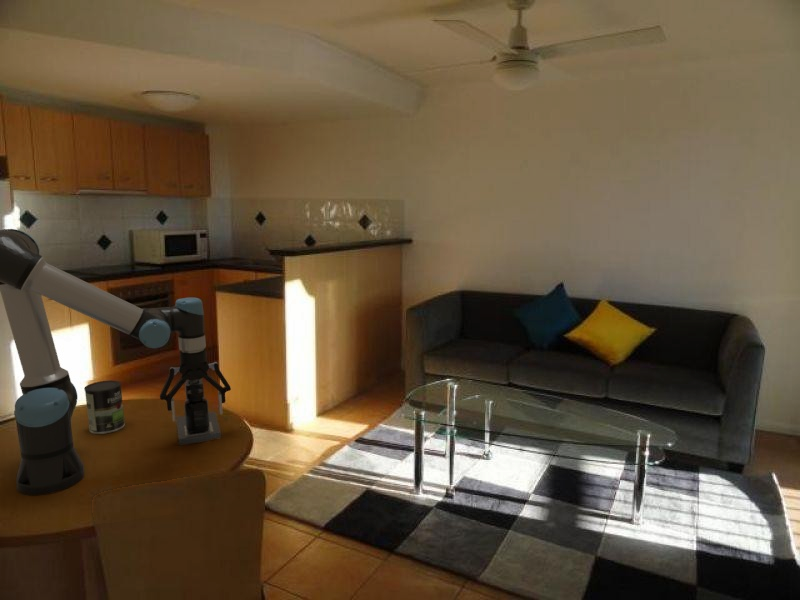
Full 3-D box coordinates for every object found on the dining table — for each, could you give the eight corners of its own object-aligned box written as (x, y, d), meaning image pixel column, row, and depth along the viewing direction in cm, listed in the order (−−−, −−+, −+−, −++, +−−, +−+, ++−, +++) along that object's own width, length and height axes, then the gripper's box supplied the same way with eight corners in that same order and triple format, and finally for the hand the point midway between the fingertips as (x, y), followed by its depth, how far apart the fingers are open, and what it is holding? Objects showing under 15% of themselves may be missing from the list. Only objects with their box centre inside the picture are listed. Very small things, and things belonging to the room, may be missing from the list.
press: (221, 438, 175) (218, 395, 172) (179, 445, 170) (175, 400, 167) (215, 417, 191) (212, 377, 188) (176, 423, 186) (173, 381, 184)
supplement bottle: (212, 424, 180) (210, 387, 177) (205, 433, 173) (202, 395, 171) (191, 423, 180) (188, 387, 177) (182, 433, 173) (179, 395, 171)
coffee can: (132, 422, 187) (128, 381, 184) (110, 435, 177) (105, 392, 174) (104, 419, 189) (100, 379, 186) (81, 432, 179) (76, 389, 176)
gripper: (234, 342, 180) (238, 406, 184) (147, 350, 170) (153, 418, 174) (237, 348, 173) (241, 414, 177) (147, 357, 163) (153, 427, 167)
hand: (197, 416), depth 176 cm, fingers open, 13 cm apart
